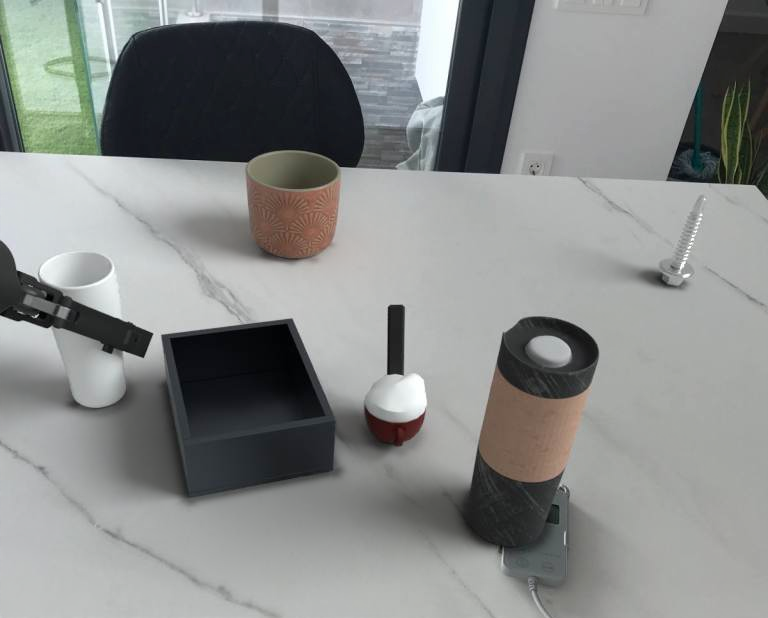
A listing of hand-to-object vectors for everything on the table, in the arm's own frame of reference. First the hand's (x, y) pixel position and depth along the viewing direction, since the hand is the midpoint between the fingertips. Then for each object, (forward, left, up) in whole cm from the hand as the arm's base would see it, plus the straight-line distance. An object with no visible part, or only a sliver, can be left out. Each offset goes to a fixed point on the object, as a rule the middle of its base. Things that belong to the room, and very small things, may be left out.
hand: (115, 333), depth 79 cm
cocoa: (+15, +26, -6) cm, 30 cm away
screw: (-4, +74, -6) cm, 74 cm away
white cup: (+2, -2, -6) cm, 7 cm away
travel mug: (+29, +32, -6) cm, 43 cm away
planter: (-24, +25, -6) cm, 35 cm away
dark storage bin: (+11, +11, -6) cm, 16 cm away
